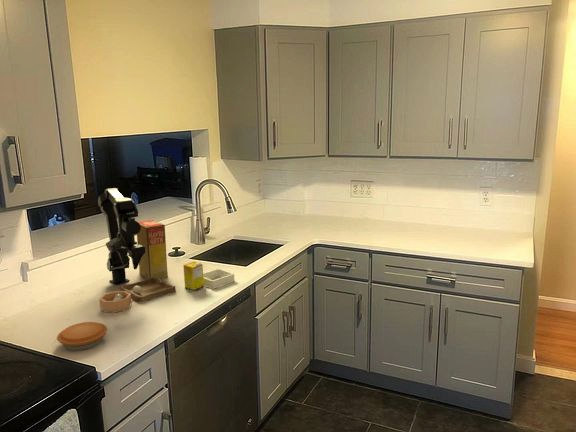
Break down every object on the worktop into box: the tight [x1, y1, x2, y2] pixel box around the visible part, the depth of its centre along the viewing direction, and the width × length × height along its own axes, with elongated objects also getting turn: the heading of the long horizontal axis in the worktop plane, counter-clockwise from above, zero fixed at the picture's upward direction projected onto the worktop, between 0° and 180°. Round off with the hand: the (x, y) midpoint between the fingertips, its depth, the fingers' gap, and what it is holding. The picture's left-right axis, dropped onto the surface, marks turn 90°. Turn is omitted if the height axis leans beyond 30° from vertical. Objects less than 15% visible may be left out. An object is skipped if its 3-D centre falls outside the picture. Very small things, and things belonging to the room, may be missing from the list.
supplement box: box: [183, 261, 205, 292], centre depth 205 cm, size 6×6×11 cm
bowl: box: [98, 290, 133, 313], centre depth 187 cm, size 11×11×4 cm
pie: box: [56, 321, 108, 351], centre depth 159 cm, size 16×16×5 cm
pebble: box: [133, 286, 142, 294], centre depth 198 cm, size 4×4×4 cm
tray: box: [119, 277, 176, 304], centre depth 202 cm, size 17×16×2 cm
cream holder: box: [203, 268, 236, 290], centre depth 213 cm, size 12×13×4 cm
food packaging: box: [136, 219, 169, 280], centre depth 220 cm, size 13×9×25 cm
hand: (129, 266), depth 196 cm, fingers open, 9 cm apart
